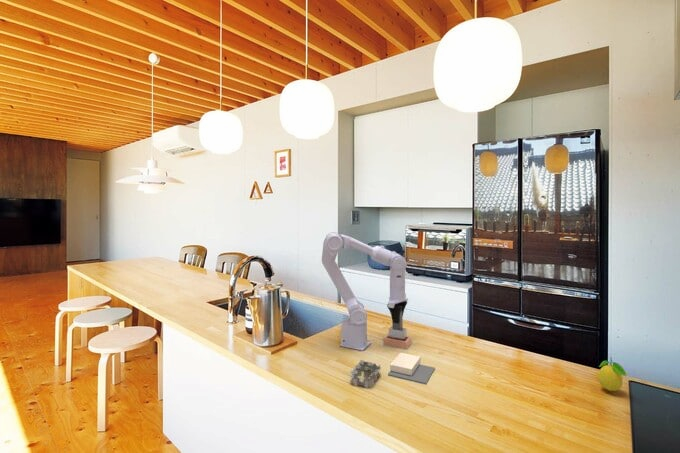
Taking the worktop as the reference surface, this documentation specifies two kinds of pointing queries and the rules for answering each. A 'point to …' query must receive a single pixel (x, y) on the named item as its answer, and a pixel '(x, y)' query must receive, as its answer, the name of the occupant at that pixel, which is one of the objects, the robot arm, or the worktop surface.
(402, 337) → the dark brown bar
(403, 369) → the glazed tile
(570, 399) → the worktop surface
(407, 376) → the mat
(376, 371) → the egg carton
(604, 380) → the lemon
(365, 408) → the worktop surface
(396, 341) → the pusher holder
